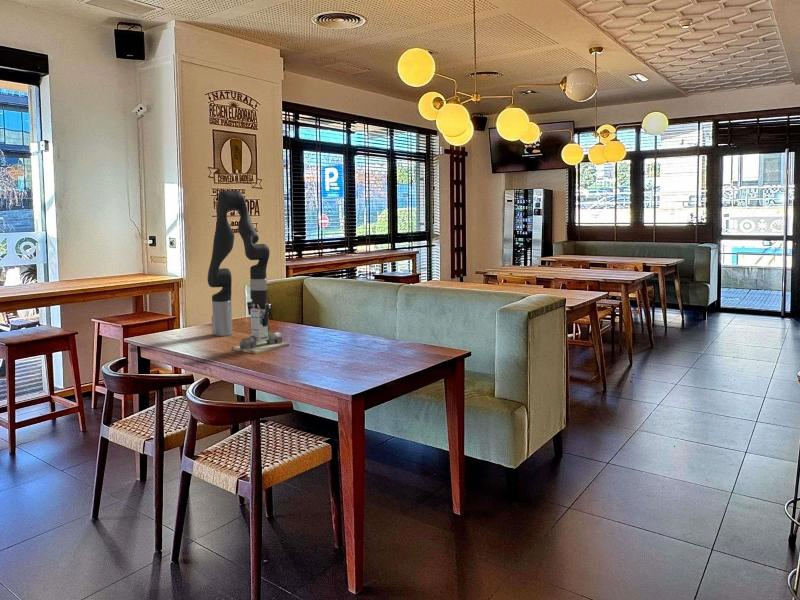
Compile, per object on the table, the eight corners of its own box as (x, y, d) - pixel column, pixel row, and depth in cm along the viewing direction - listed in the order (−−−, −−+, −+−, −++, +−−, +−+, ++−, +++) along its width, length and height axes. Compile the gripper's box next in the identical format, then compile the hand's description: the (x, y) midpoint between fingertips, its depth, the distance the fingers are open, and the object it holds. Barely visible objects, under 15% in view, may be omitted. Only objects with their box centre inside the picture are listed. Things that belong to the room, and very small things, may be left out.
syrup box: (259, 341, 280) (258, 309, 278) (251, 339, 283) (250, 308, 281) (269, 339, 284) (268, 307, 282) (261, 337, 288) (260, 306, 286)
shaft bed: (231, 349, 281) (231, 335, 280) (266, 341, 297) (266, 328, 296) (255, 354, 271) (255, 340, 271) (290, 345, 288) (290, 332, 287)
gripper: (241, 288, 281) (242, 325, 284) (263, 290, 273) (264, 328, 276) (254, 286, 288) (255, 322, 290) (276, 288, 279) (277, 325, 282)
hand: (260, 325), depth 283 cm, fingers closed on syrup box, 6 cm apart
